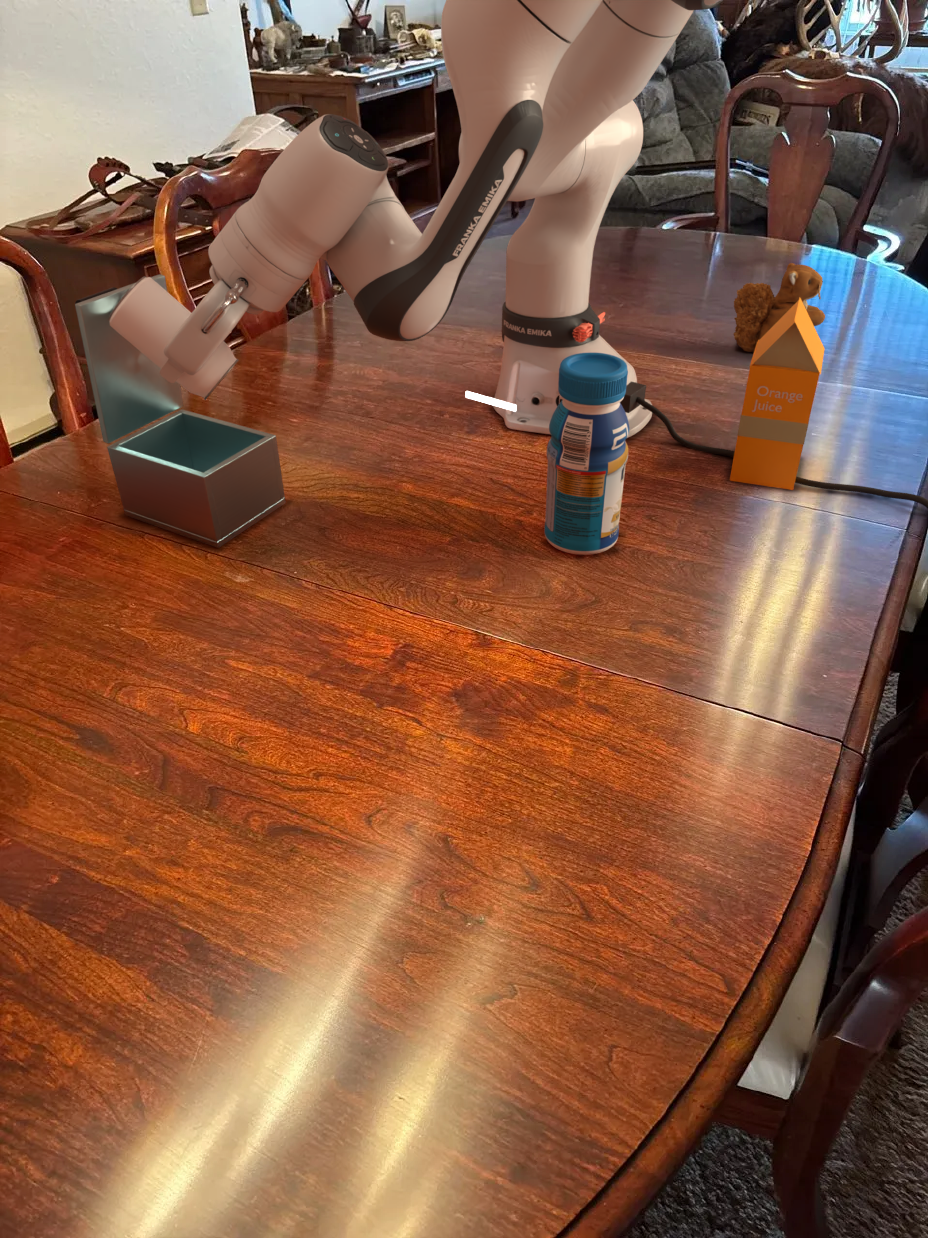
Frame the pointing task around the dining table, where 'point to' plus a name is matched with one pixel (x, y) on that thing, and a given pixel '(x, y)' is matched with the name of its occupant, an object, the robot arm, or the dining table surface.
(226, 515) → the open metal box
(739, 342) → the stuffed squirrel
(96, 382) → the lid
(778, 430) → the orange juice
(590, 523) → the beverage bottle
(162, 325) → the can
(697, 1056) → the dining table surface
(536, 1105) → the dining table surface
